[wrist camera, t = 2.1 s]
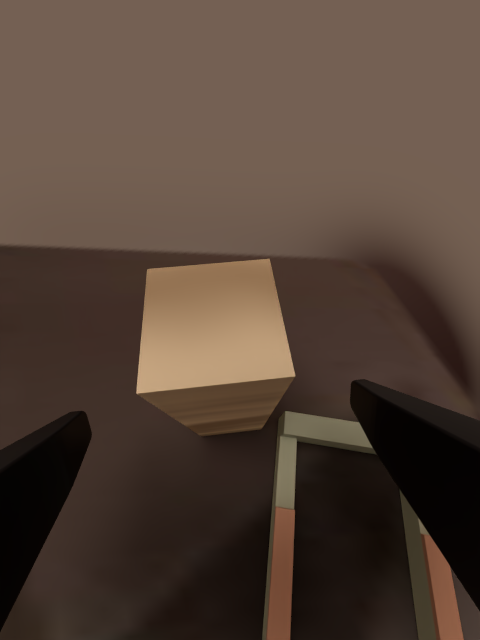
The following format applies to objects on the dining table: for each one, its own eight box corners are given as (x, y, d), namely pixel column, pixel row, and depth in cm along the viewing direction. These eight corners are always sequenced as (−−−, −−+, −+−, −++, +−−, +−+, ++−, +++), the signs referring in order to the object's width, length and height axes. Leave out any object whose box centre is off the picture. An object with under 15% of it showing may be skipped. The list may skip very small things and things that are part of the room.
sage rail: (463, 796, 10) (540, 911, 8) (254, 742, 11) (258, 831, 8) (408, 439, 17) (440, 435, 14) (278, 418, 17) (285, 410, 15)
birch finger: (261, 429, 17) (295, 376, 6) (201, 436, 17) (136, 393, 6) (252, 368, 19) (268, 253, 9) (199, 373, 19) (147, 263, 8)
